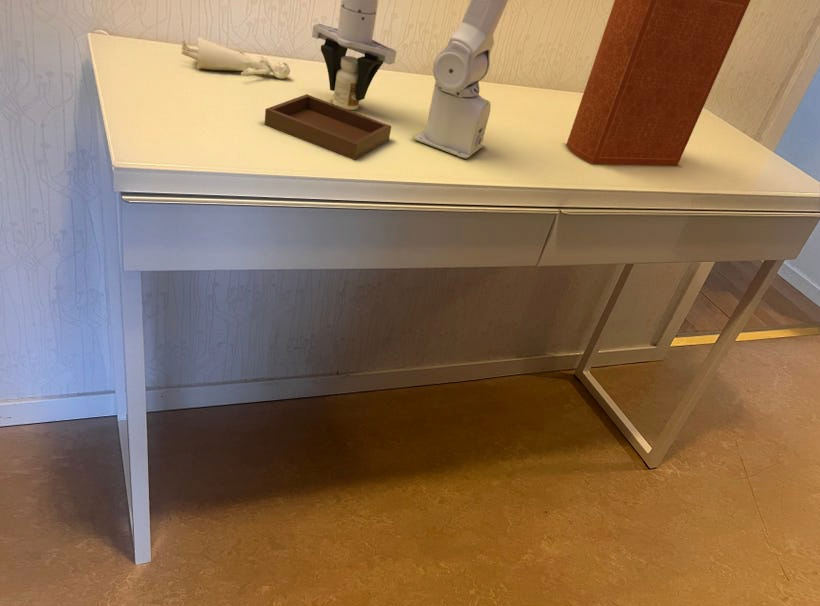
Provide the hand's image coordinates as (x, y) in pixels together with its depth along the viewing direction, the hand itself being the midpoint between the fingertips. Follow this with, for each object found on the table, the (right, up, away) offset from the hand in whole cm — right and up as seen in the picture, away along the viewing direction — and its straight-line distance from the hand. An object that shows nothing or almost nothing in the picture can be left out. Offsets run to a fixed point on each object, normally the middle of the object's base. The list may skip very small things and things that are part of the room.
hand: (347, 94), depth 119 cm
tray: (-1, -10, -10) cm, 14 cm away
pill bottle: (0, -2, +1) cm, 2 cm away
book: (+50, -7, +14) cm, 52 cm away
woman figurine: (-20, +5, +3) cm, 20 cm away
